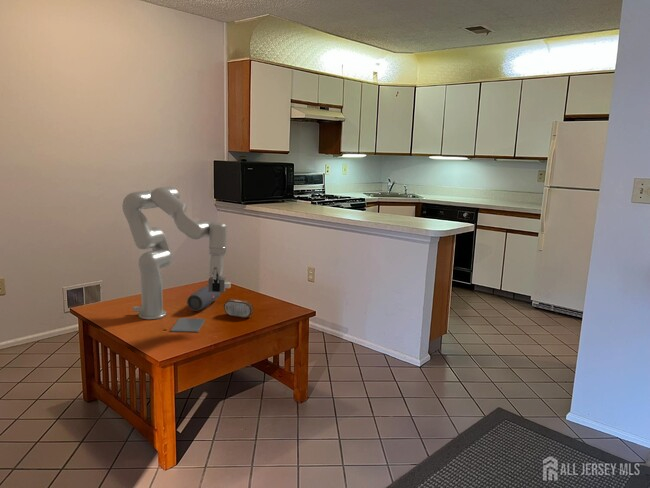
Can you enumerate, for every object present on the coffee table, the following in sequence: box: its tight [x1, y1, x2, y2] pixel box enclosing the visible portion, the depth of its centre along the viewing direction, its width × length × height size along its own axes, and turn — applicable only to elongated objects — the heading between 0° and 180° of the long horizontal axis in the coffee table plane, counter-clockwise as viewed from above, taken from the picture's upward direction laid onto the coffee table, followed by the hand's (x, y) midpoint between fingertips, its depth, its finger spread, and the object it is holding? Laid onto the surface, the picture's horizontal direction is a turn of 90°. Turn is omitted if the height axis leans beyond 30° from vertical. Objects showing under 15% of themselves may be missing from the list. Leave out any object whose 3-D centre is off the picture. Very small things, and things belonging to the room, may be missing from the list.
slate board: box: [170, 317, 206, 333], centre depth 221 cm, size 12×16×1 cm
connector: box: [208, 276, 232, 294], centre depth 218 cm, size 9×4×6 cm, turn 93°
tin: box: [223, 298, 254, 319], centre depth 236 cm, size 15×3×8 cm, turn 74°
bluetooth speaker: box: [186, 284, 222, 312], centre depth 249 cm, size 23×9×10 cm, turn 168°
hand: (216, 289), depth 219 cm, fingers closed on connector, 3 cm apart
